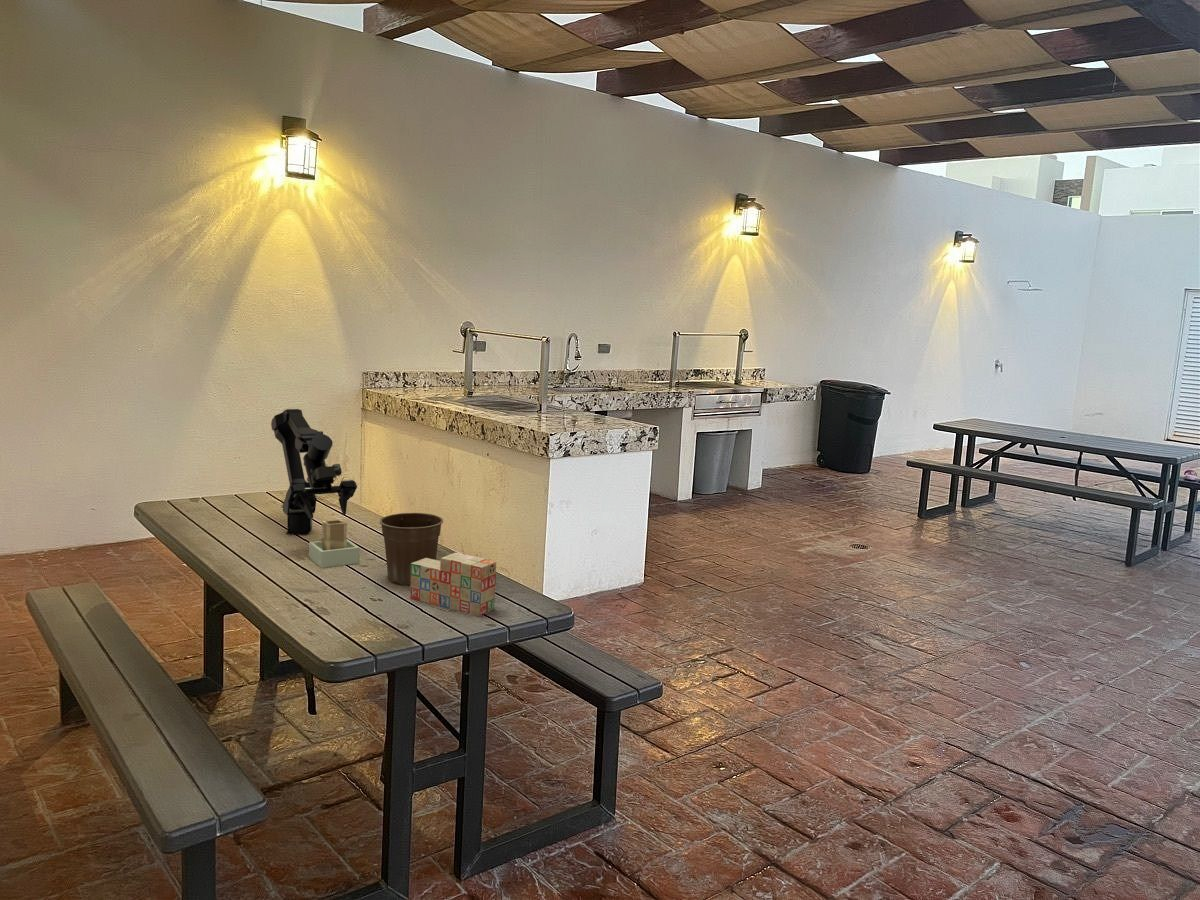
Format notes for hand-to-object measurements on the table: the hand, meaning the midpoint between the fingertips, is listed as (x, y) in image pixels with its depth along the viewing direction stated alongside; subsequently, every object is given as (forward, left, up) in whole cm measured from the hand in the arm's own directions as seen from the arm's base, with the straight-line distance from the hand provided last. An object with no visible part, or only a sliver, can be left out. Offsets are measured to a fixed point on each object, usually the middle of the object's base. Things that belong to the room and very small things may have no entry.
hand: (328, 516), depth 257 cm
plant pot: (+24, -20, -12) cm, 34 cm away
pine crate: (+2, -4, -11) cm, 12 cm away
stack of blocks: (+36, -40, -12) cm, 55 cm away
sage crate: (+2, -4, -12) cm, 12 cm away
